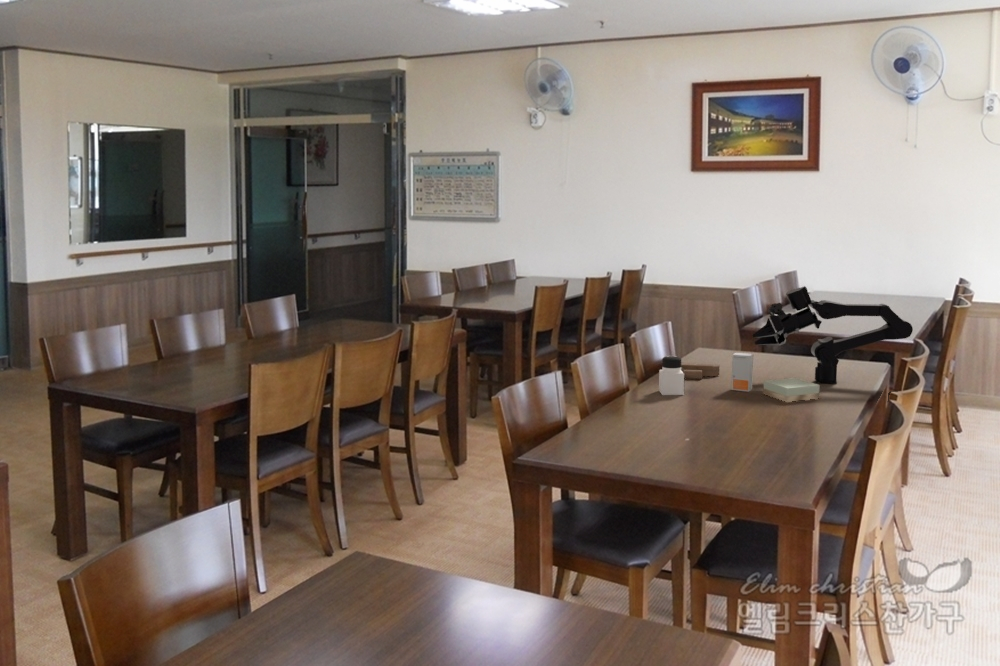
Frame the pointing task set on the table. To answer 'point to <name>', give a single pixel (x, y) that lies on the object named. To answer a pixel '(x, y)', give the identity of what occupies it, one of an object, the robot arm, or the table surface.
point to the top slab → (791, 386)
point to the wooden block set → (699, 370)
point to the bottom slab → (791, 398)
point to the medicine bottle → (671, 376)
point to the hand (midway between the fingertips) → (754, 340)
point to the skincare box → (742, 372)
